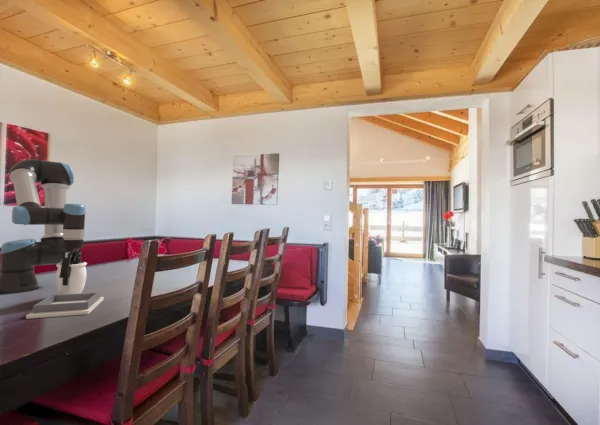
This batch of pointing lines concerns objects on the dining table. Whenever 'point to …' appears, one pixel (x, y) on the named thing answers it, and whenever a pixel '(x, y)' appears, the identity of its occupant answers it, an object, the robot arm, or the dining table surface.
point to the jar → (73, 278)
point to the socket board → (66, 305)
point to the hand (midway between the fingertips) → (70, 289)
